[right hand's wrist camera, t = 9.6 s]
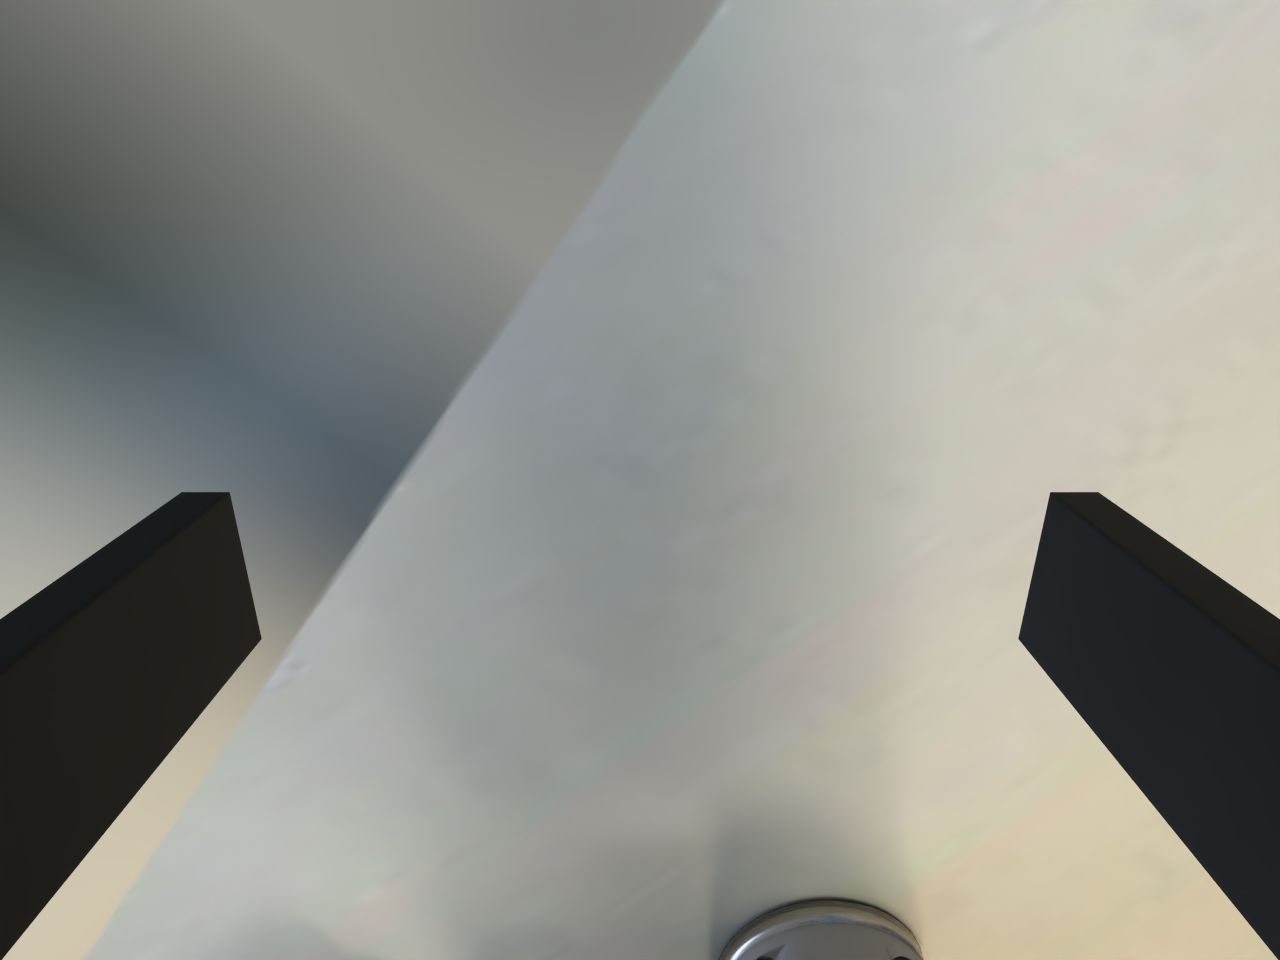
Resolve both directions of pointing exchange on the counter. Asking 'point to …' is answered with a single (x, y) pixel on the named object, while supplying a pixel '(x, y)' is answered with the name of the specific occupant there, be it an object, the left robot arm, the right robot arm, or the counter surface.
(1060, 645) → the right robot arm
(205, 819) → the counter surface
